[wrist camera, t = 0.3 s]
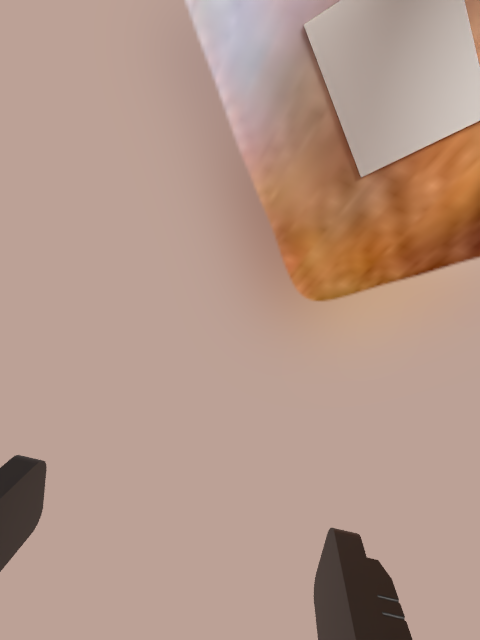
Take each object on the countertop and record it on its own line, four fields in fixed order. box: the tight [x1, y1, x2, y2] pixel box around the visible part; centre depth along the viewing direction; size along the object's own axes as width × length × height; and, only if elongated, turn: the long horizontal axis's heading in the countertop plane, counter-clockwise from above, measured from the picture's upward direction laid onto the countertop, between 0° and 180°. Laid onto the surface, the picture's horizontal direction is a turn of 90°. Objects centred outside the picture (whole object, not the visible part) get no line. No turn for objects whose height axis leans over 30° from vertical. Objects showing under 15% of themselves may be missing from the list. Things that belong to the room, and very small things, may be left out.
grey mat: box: [304, 0, 480, 177], centre depth 29 cm, size 12×10×1 cm
